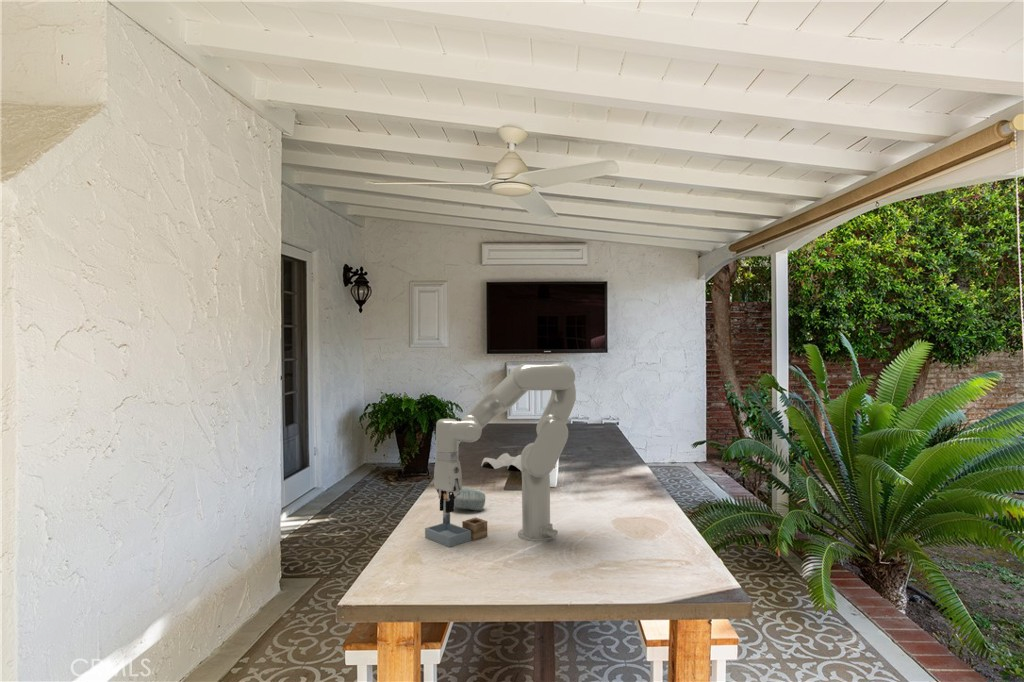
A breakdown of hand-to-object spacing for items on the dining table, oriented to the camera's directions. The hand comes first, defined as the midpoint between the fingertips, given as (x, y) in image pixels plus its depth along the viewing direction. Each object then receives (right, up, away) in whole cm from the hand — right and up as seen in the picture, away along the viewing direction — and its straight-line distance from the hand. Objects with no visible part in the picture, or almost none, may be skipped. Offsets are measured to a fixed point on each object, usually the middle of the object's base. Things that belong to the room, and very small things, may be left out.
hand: (446, 510), depth 189 cm
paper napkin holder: (+20, -10, +98) cm, 101 cm away
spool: (+3, -10, +31) cm, 33 cm away
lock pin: (0, -4, 0) cm, 4 cm away
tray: (0, -9, 0) cm, 9 cm away
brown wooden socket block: (+9, -9, +2) cm, 13 cm away
